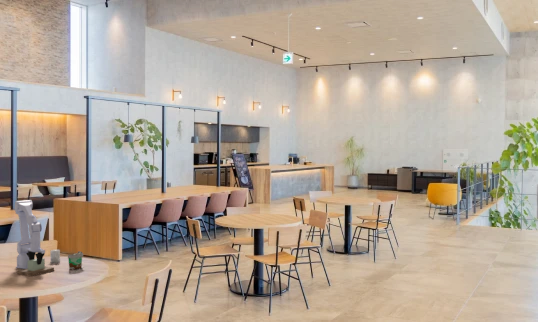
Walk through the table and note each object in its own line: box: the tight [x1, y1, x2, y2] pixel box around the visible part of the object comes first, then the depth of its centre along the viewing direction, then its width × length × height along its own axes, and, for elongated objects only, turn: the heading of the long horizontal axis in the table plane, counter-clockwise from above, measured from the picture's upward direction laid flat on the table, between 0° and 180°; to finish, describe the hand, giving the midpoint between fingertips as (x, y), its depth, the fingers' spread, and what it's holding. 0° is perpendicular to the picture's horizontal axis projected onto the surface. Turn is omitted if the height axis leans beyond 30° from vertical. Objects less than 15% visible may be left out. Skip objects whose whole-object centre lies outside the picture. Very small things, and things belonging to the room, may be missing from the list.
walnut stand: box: [16, 265, 55, 277], centre depth 333 cm, size 14×16×2 cm
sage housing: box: [28, 257, 46, 271], centre depth 333 cm, size 5×10×6 cm, turn 154°
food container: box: [67, 251, 84, 271], centre depth 343 cm, size 12×6×10 cm, turn 168°
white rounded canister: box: [49, 249, 61, 264], centre depth 362 cm, size 6×6×8 cm
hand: (35, 263), depth 332 cm, fingers open, 6 cm apart
